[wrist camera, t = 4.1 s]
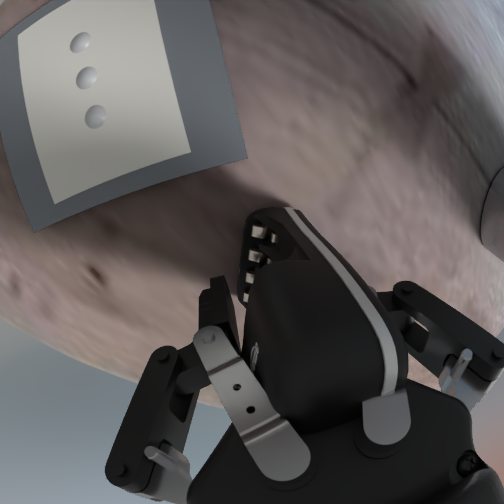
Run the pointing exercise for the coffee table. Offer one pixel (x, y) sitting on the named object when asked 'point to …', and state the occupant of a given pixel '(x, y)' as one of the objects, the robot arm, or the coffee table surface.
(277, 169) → the coffee table surface
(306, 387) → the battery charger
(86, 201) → the pad
